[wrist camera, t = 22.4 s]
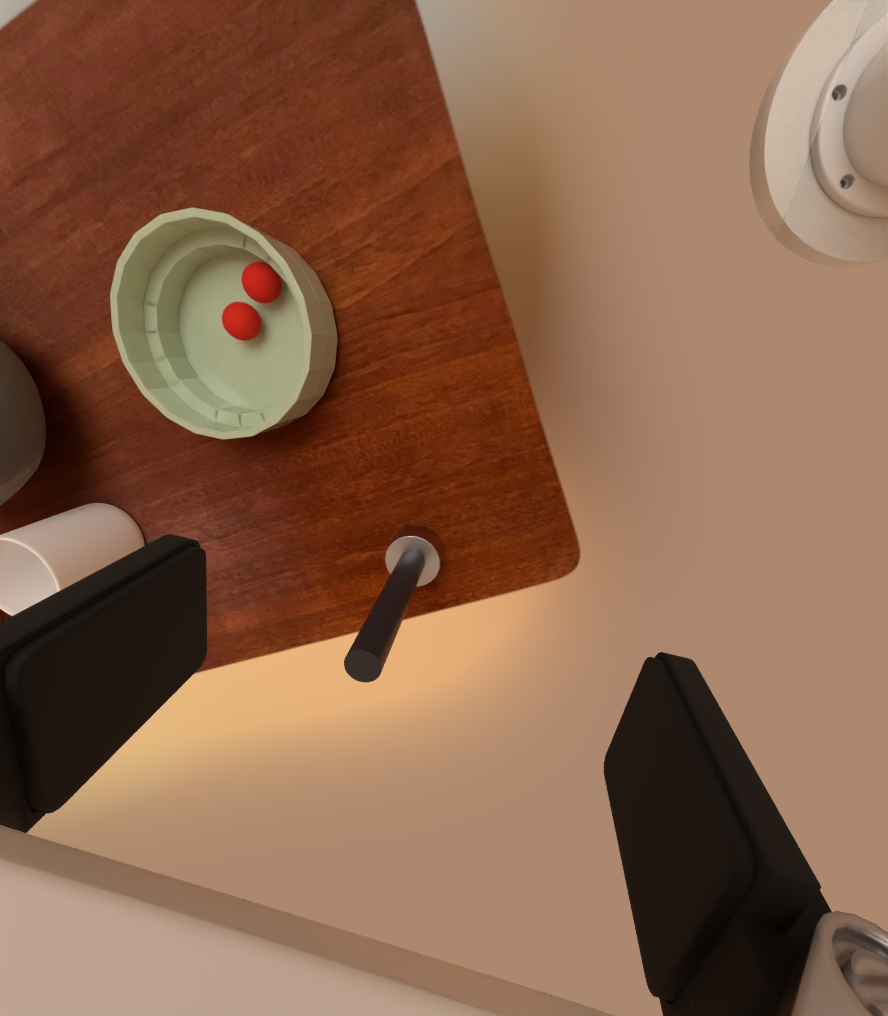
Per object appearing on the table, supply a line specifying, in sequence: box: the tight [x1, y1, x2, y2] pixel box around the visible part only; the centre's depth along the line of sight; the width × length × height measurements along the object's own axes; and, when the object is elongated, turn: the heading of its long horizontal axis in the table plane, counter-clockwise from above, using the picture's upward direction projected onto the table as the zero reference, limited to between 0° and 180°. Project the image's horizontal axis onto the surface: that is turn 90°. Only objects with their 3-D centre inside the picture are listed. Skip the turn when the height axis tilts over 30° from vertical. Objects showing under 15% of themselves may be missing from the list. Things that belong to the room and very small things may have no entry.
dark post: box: [344, 526, 444, 682], centre depth 36 cm, size 5×5×18 cm
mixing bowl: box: [110, 208, 338, 440], centre depth 37 cm, size 16×16×6 cm
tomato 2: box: [241, 262, 282, 303], centre depth 36 cm, size 3×3×3 cm
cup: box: [0, 503, 145, 616], centre depth 45 cm, size 8×12×10 cm
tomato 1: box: [222, 302, 261, 341], centre depth 38 cm, size 3×3×3 cm
